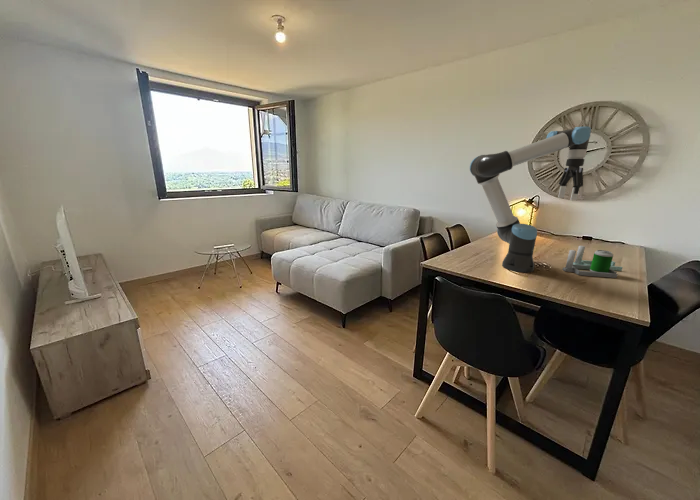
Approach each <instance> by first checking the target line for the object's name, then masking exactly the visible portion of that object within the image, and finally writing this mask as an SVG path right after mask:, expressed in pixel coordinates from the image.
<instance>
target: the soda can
mask: <svg viewBox="0 0 700 500" xmlns="http://www.w3.org/2000/svg"><path fill="white" fill-rule="evenodd" d="M613 257H614V254H613V252H612V251H608V250H603V249H597V250H595V251H594V253H593V257H592V260H591V261H592V263H591V267H590V270H589V272H602V273H609V269H610V266H611V262H612V261H613Z"/></svg>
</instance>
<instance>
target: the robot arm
mask: <svg viewBox="0 0 700 500" xmlns="http://www.w3.org/2000/svg"><path fill="white" fill-rule="evenodd" d="M591 134H592V127H590V126H576V127H574V128H570V129H565V130H551V131H550V132H548V133H547V135H546V138H544V139H541V140H538V141H536V142H532V143H530V144H527V145H524V146H521V147H518V148H515V149H513V150H511V151H508V150H504V151H502V152H497V153H489V154H480V155H478V156H476V157H474V158H473V159H472V161H471V162H470V164H469V171H470V174H471V175H472V176H474V177H475V180H476V183H477V184H479V185H481V186H482V189H483V191H484V193H485V196H486V198H487V200H488V202H489V205H490V207H491V209H492V211H493V214H494V216H495V219H496V220H497V222H496V224H495V226H496V229H497V230H496V234H497V236H498V238H499V239H500V240H501V241H503V242H505V243H507V244H508V249H507V254H506V255H505V256H504V259H503V261H502V264H501V266H502V267H503V268H504V269H506V270H509V271H512V272H519V273H532V272H534V271H535V263H534V258H533V256H534V250H535V246H536V245H535V244H536V240H537V237H538V229H537V227H535V226H534V225H531V224H527V223H521V222H520V220H519V218H518V216H515V215H514V213H513V210H512V208H511V206H510V203H509V202H508V198H507V196H506V194H505V191H504V189H503V187H502V185H501V182H500V180H499V176H500V174H502V173H505V172H507V171H510V170H512V169H513V167H515V166H518V165H522V164H524V163H527V162H529V161H533V160H536V159H538V158H541V157H544V156H546V155H547V156H548V155H549V154H553V153H555V152H558V151H561V150H563V149H566V148H569V149H568V153H567V155H566V156H567V159H566V162H565V166H566V167H564V169H563V173H562V175H561V177H560V179H559V182H558V185H559V186H560V187H559V192H558V197H557V198H559V199H564V198H565V196H566V195H565V194H566V191H567V186H568V182H569V181H570V179H571V178H572V182H573V186H572V191H571V193H570V194H571V196H570V199H569V200H570V201H578V198H579V197H578V196H579V193H580V192H579V191H580V188H582V187H584V175H583V172H584V164H585V157H586V154H587V153H588V152H587V150H588V147H589V141H590V138H591Z"/></svg>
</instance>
